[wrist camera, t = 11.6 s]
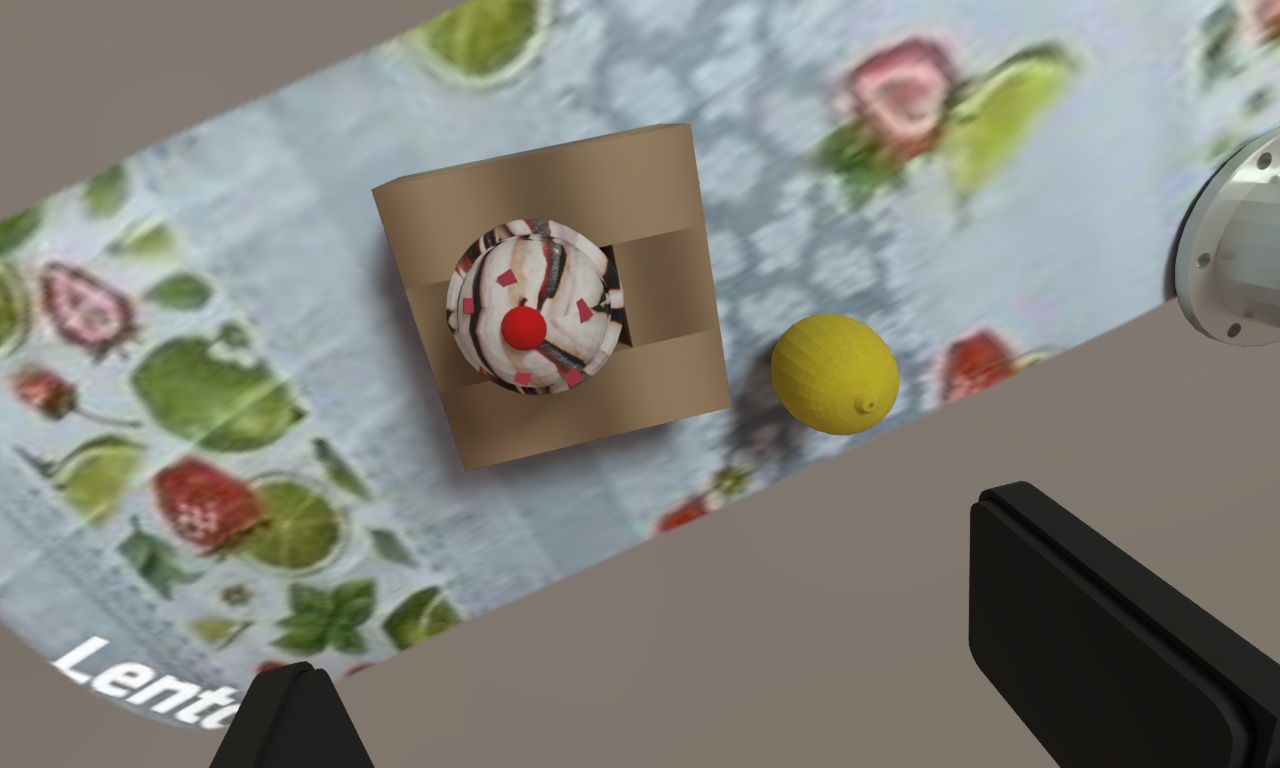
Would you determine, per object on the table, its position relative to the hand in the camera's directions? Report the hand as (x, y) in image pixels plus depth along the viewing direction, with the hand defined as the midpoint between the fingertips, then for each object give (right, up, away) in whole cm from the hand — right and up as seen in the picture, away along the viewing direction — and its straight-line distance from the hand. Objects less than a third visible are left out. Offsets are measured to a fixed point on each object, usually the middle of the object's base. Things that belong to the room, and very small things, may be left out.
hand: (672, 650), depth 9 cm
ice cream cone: (-4, +9, +23) cm, 25 cm away
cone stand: (-4, +9, +23) cm, 25 cm away
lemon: (+8, +6, +26) cm, 28 cm away
